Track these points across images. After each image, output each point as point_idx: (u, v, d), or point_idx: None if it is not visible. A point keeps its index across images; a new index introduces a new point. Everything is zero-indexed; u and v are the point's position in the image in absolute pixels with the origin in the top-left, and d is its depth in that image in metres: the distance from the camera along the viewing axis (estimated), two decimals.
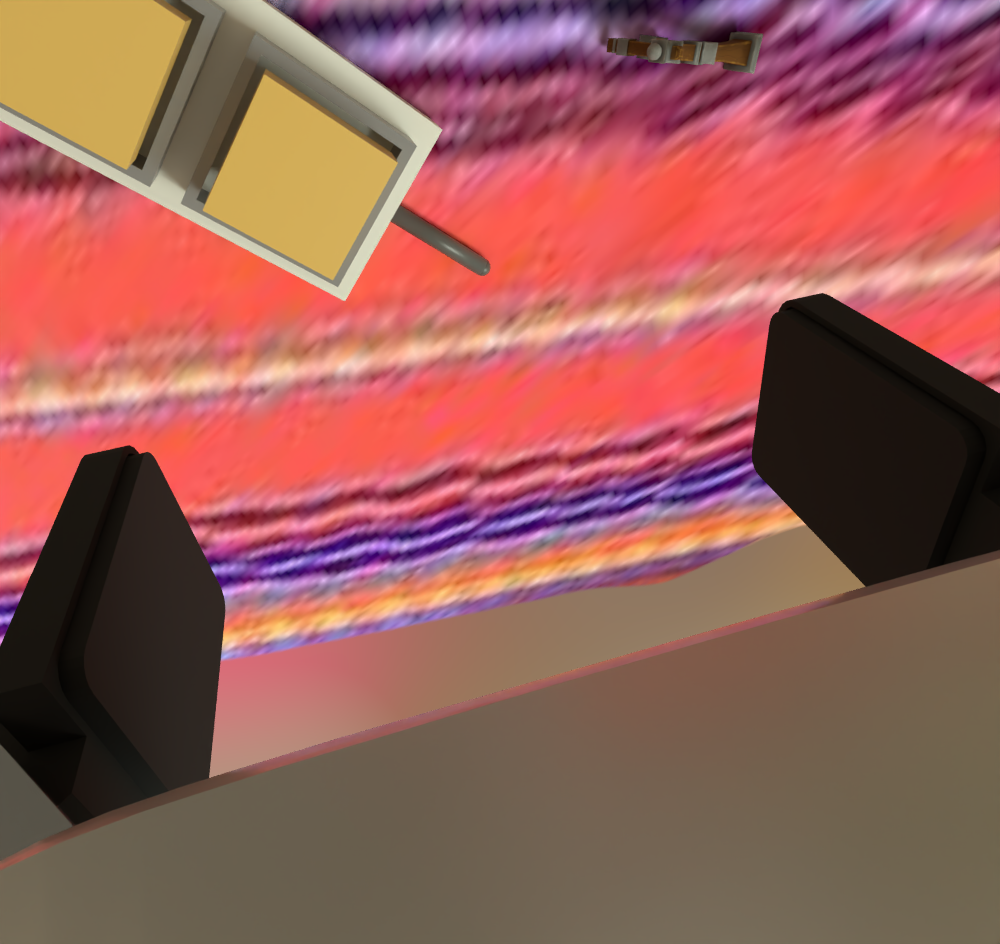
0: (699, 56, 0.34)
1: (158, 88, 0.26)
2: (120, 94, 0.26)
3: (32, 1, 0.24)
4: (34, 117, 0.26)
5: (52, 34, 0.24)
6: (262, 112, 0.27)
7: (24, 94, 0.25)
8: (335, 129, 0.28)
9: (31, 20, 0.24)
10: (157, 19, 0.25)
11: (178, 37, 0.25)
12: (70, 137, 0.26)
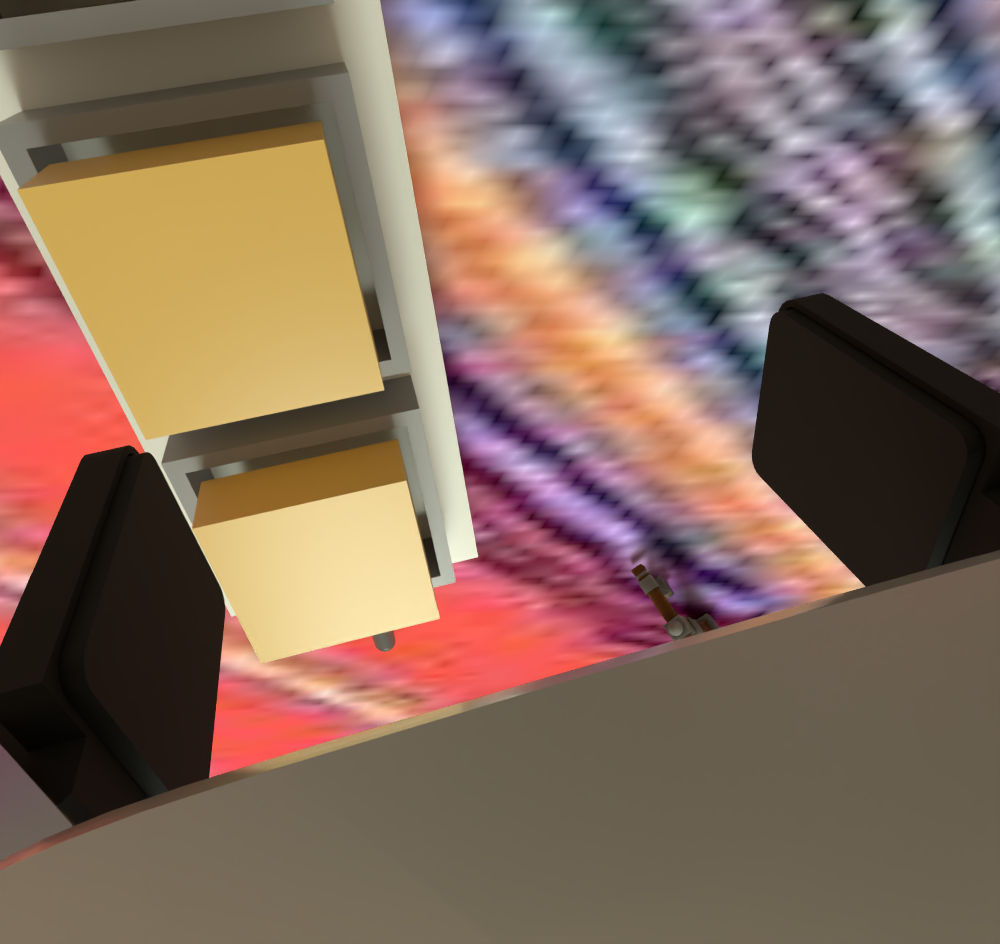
0: None
1: (283, 408, 0.17)
2: (232, 382, 0.17)
3: (239, 240, 0.15)
4: (88, 318, 0.15)
5: (223, 280, 0.15)
6: (366, 503, 0.20)
7: (105, 291, 0.15)
8: (417, 561, 0.21)
9: (214, 250, 0.15)
10: (358, 366, 0.17)
11: (360, 393, 0.18)
12: (112, 366, 0.16)
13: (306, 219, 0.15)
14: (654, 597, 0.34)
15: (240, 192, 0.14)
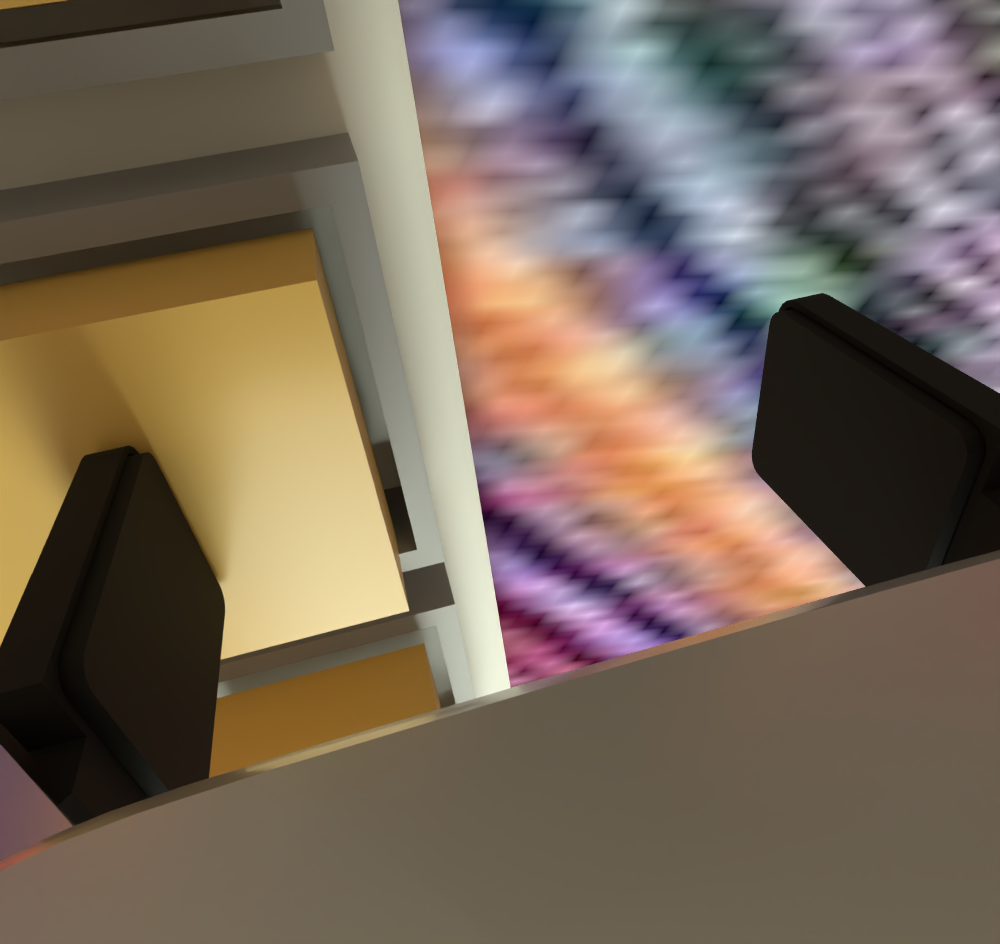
0: None
1: None
2: None
3: (178, 434, 0.09)
4: None
5: None
6: None
7: None
8: None
9: (139, 453, 0.09)
10: (371, 585, 0.11)
11: (374, 617, 0.12)
12: None
13: (289, 398, 0.09)
14: None
15: (177, 366, 0.09)
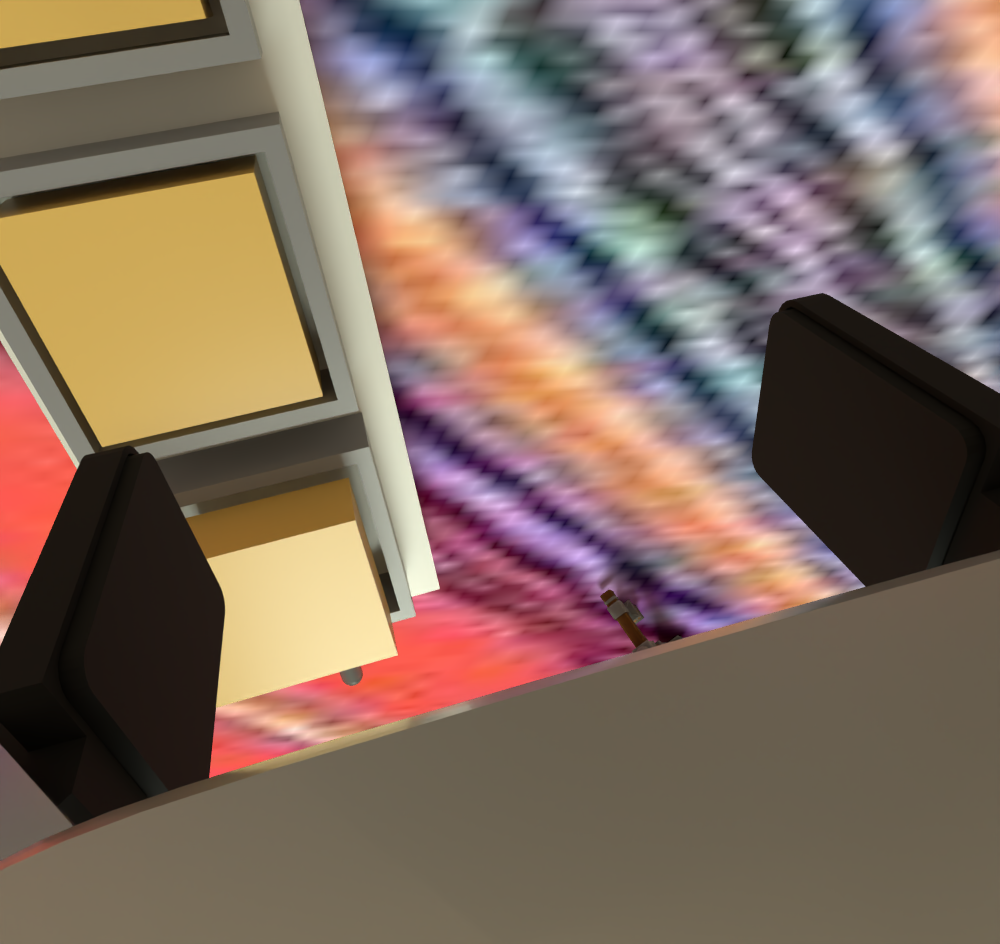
0: None
1: (229, 415, 0.19)
2: (181, 392, 0.18)
3: (181, 262, 0.17)
4: (44, 335, 0.17)
5: (168, 298, 0.17)
6: (315, 544, 0.20)
7: (60, 311, 0.16)
8: (371, 599, 0.21)
9: (159, 272, 0.17)
10: (297, 374, 0.19)
11: (301, 399, 0.19)
12: (68, 379, 0.17)
13: (242, 243, 0.17)
14: (623, 622, 0.34)
15: (180, 220, 0.16)
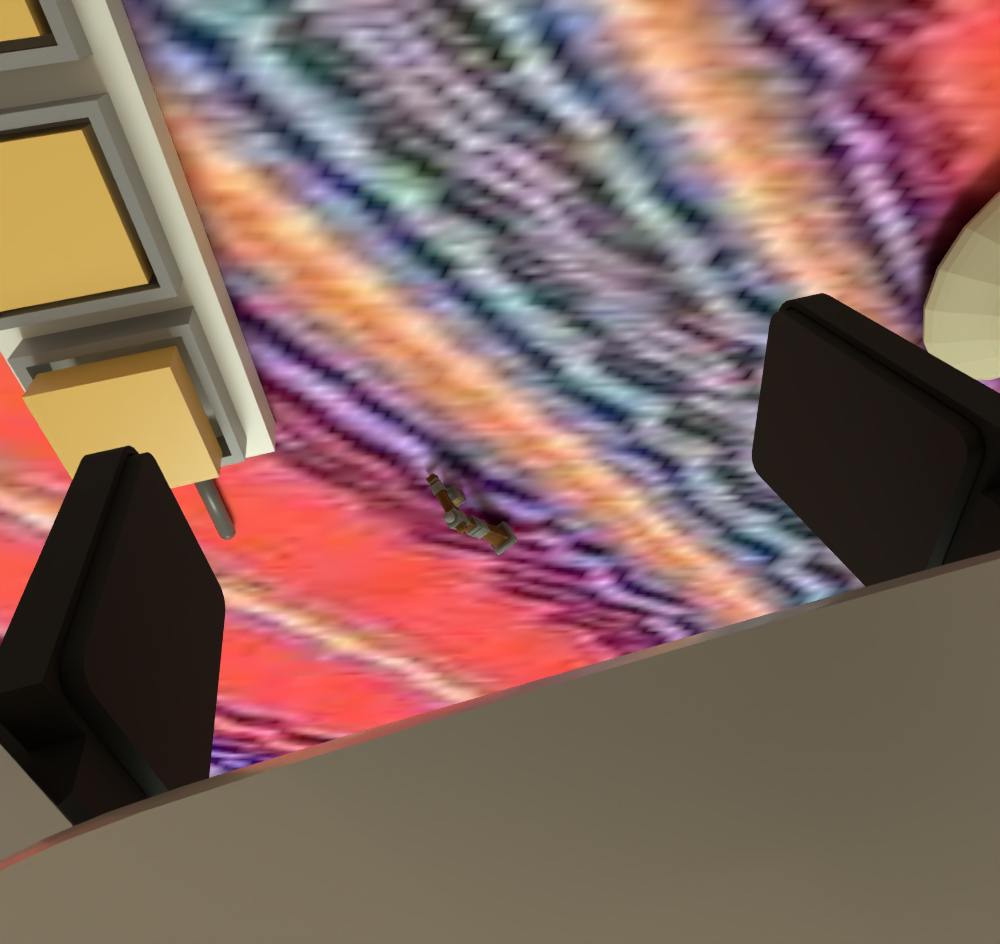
0: (473, 532, 0.45)
1: (84, 294, 0.29)
2: (49, 275, 0.28)
3: (40, 187, 0.26)
4: None
5: (34, 210, 0.27)
6: (143, 383, 0.30)
7: None
8: (191, 429, 0.31)
9: (27, 193, 0.26)
10: (128, 267, 0.29)
11: (133, 285, 0.29)
12: None
13: (79, 175, 0.26)
14: (440, 497, 0.44)
15: (37, 159, 0.26)
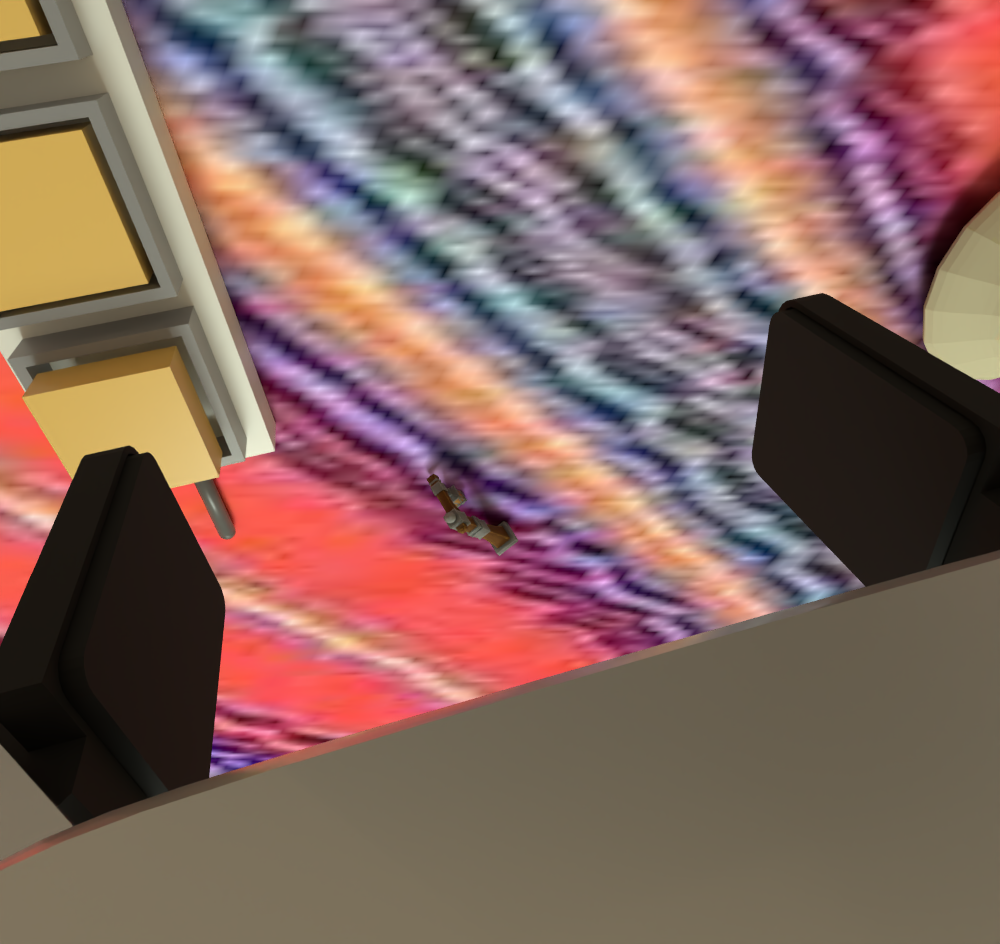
0: (474, 532, 0.45)
1: (84, 294, 0.29)
2: (49, 275, 0.28)
3: (40, 187, 0.26)
4: None
5: (34, 210, 0.27)
6: (143, 383, 0.30)
7: None
8: (191, 429, 0.31)
9: (27, 193, 0.26)
10: (128, 266, 0.29)
11: (133, 285, 0.29)
12: None
13: (79, 175, 0.26)
14: (441, 497, 0.44)
15: (37, 159, 0.26)
